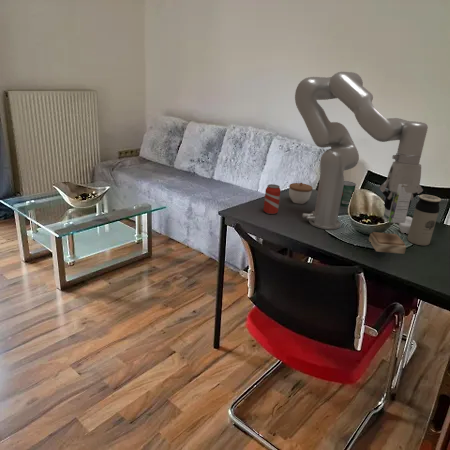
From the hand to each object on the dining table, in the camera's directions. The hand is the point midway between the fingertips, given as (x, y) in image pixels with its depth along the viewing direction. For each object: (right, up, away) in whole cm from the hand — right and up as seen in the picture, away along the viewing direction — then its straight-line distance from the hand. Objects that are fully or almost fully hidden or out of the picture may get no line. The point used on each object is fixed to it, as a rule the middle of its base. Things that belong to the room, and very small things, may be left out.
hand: (396, 208), depth 141 cm
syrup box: (0, -4, +2) cm, 5 cm away
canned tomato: (-5, +3, +48) cm, 49 cm away
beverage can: (-41, 0, +32) cm, 52 cm away
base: (-1, -14, +6) cm, 15 cm away
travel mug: (+14, -12, +12) cm, 22 cm away
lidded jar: (-26, +5, +49) cm, 56 cm away
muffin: (+12, -9, +20) cm, 26 cm away
